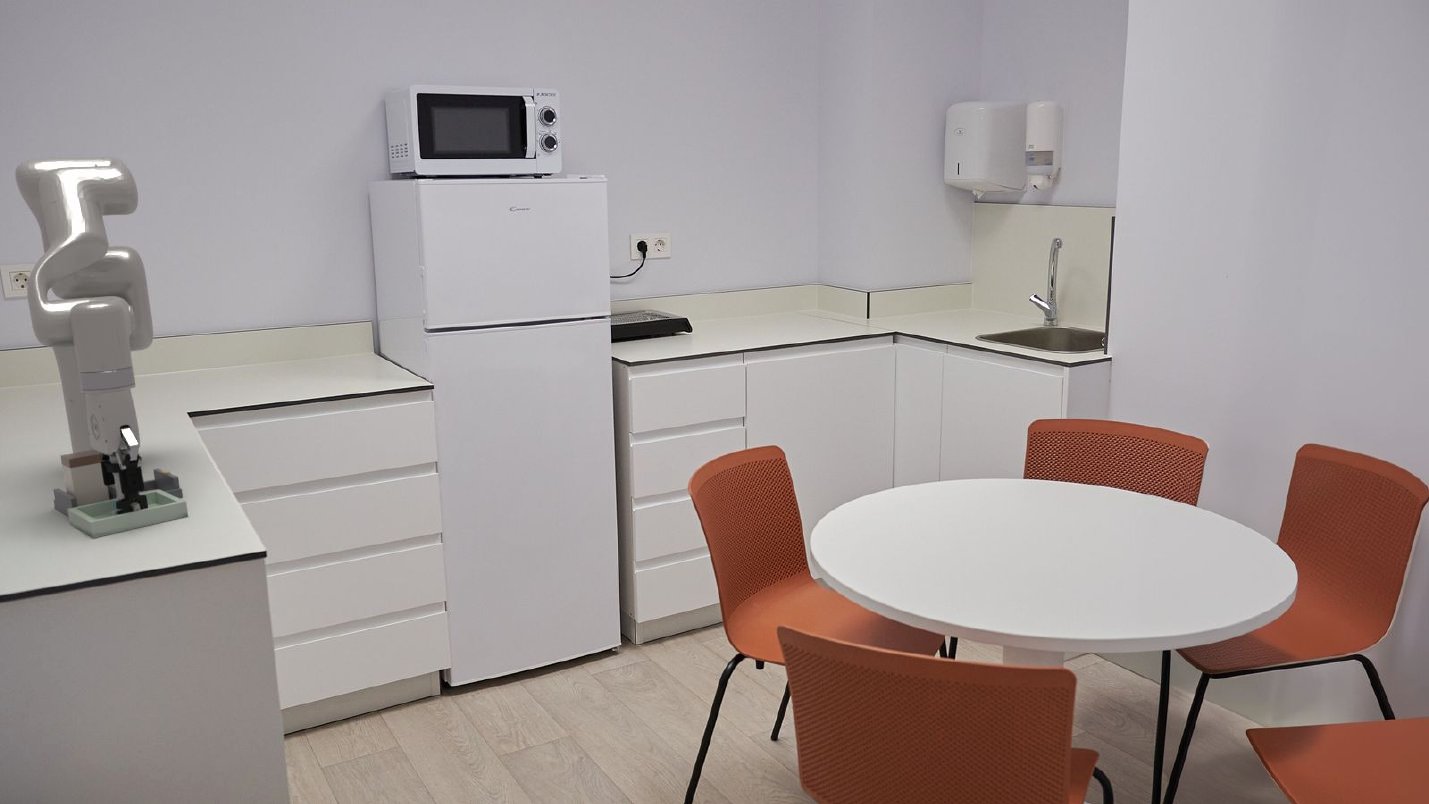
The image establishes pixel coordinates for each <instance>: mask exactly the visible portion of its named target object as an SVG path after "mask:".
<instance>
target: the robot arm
mask: <svg viewBox="0 0 1429 804" xmlns="http://www.w3.org/2000/svg"><path fill="white" fill-rule="evenodd" d="M14 174H15V175H14V176H15V182H16V185H17V188H18V190H19V193H20V195H21V197H22V199H23V200H24V203H26V205H27V207H28V209H29V210H30V211H31V213H32V214H33V216H34V217H35V220H36V221H37V225H38V226H39V229H40V234H41V239H42V240H41V241H42V245H43V246H42V247H43V251H44V252H43V253H44V254H43V255H42V256H41V257H40V258H39V259H38V260H37V262H36V263H35V264H34V267H33V268H32V270H31V272H30V275H29V277H28V282H27V286H26V291H27V293H26V294H27V303H28V306H29V307H28V308H29V315H30V320H31V325H32V329H33V333H34V335H35V338H36V339H37V341H38V342H39V343H40V344H41V345H42V346H45V347H47V348H52V351H53V354H54V356H55V360H56V364H57V367H58V372H59V376H60V382H61V387H62V393H63V399H64V406H65V412H66V419H67V425H68V430H69V438H70V442H71V449H72V453H78V452H83V451H89V450H96V451H99V452H100V454H99V457H100V460H101V461H102V462H101V469H102V475H103V482H104V485H106V486H109V485H114V484H115V479H114V475H113V473H110V472H107V467H106V466H105V465H104V462H105V461H108V460H109V459H110V457H109V456H110V455H112V454H116V457H117V460H118V463H119V466H120V468H121V469H120V470H118V473H119V479H120V485H121V492H122V494H124V495H126V494H131V493H135V492H140V491H141V492H144V491H143V490H144V482H143V481H144V477H143V471H142V470H143V469H142V462H141V461H140V459H139V457H141V455H140V453H139V452H140V451H139V450H140V448H141V437H140V428H139V423H138V417H137V412H136V407H135V402H134V398H133V395H132V390H131V389H134V388H135V387H136V386H137V385H136V379H135V373H134V371H135V370H134V366H133V359H132V352H138V351H144V350H146V349H148V348H149V347H150V346H151V345H152V343H153V340H154V325H153V318H152V312H151V304H150V297H149V287H148V282H147V281H148V280H147V274H146V271H145V266H144V262H143V259H142V257H141V255H140V254H139V252H138V251H137V250H136V249H134V248H132V247H130V246H126V245H125V246H124V245H118V246H117V245H114V246H109V245H110V243H109V239H108V236H107V235H108V234H107V231H106V227H105V222H104V218H103V216H105V217H108V216H124V215H132V214H134V213H135V212H136V210H137V208H138V204H139V193H138V187H137V184H136V179H135V178H134V176H133V173H132V171H131V170H130V169H129V167H128V166H127V165H126V163H124V161H123V160H121V159H120V158H118V157H108V156H107V157H105V156H102V157H98V156H97V157H47V158H46V157H45V158H35V159H31V160H25V161H22V162H21V163H19V164H17V167H16V168H15V173H14ZM50 289H51V291H52V293H53V294H54V296H56V297H57V298H59V299H56V300H50V299H48V298H49V297H48V292H49V290H50ZM122 455H125V459H123V456H122ZM141 492H140V493H141Z"/></svg>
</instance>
